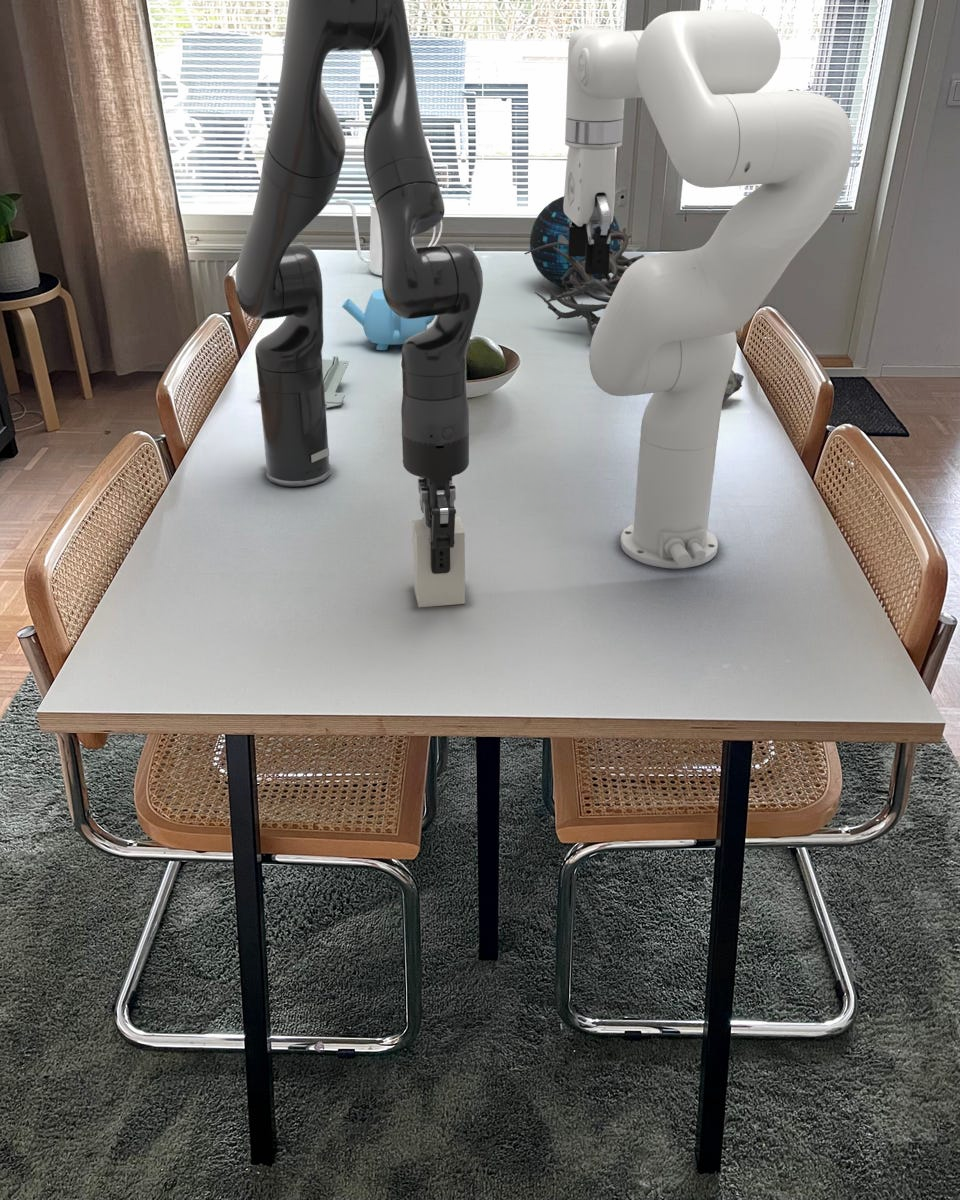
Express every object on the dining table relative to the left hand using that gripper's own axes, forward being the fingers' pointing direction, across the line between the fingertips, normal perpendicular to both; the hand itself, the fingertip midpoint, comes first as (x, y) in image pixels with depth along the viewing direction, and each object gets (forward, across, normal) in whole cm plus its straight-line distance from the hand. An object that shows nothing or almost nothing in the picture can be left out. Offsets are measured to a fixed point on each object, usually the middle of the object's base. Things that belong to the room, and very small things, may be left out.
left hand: (437, 561), depth 139 cm
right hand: (-25, -37, +26) cm, 52 cm away
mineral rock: (+5, -57, +53) cm, 77 cm away
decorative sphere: (+5, -132, +48) cm, 141 cm away
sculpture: (+5, -94, +46) cm, 105 cm away
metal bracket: (+5, -74, -13) cm, 76 cm away
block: (+5, 0, 0) cm, 5 cm away
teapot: (+5, -100, +5) cm, 100 cm away
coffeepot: (+5, -153, +9) cm, 153 cm away
